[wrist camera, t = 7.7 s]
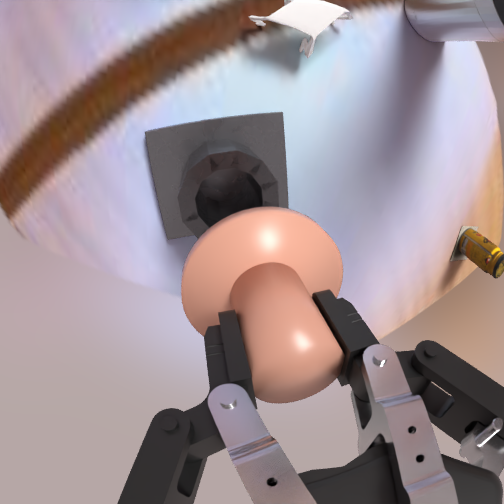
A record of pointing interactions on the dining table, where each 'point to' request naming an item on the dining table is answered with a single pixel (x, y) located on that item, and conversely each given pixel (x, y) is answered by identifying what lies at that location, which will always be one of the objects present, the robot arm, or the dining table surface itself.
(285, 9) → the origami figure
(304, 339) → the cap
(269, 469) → the robot arm
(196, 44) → the dining table surface
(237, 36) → the dining table surface
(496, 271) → the condiment
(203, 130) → the flanged pipe socket
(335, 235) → the dining table surface
